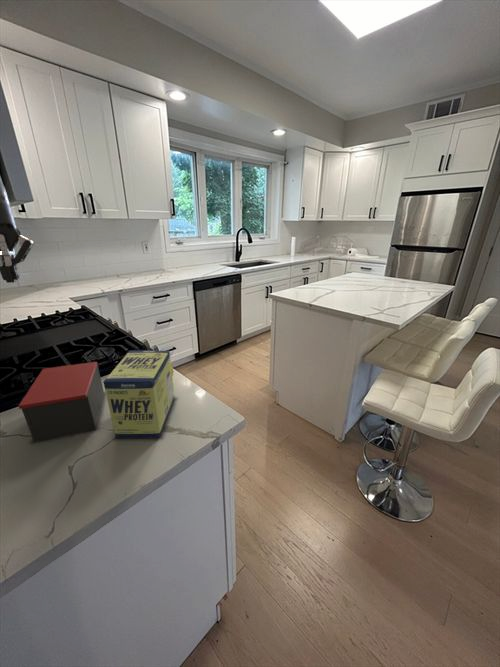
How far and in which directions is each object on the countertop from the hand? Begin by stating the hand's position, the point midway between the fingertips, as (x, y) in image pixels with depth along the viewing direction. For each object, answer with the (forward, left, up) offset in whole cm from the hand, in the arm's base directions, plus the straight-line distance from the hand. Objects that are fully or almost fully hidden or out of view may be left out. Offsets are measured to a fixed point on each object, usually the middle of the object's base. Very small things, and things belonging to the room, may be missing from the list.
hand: (12, 281), depth 65 cm
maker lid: (+12, -5, -23) cm, 27 cm away
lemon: (+28, +14, -33) cm, 46 cm away
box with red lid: (+12, -5, -33) cm, 35 cm away
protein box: (+31, -2, -33) cm, 46 cm away
